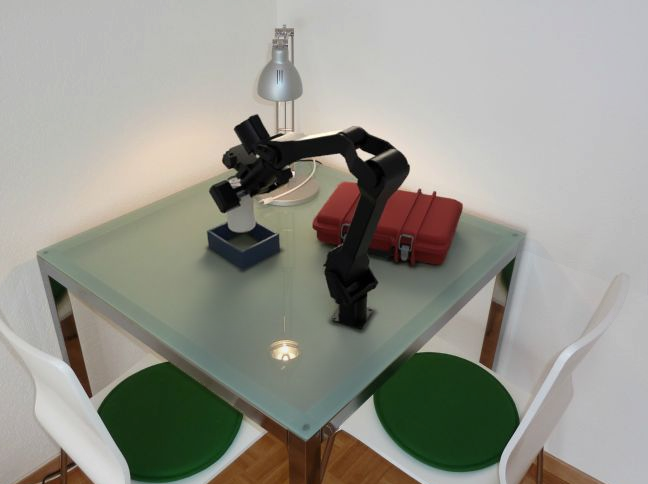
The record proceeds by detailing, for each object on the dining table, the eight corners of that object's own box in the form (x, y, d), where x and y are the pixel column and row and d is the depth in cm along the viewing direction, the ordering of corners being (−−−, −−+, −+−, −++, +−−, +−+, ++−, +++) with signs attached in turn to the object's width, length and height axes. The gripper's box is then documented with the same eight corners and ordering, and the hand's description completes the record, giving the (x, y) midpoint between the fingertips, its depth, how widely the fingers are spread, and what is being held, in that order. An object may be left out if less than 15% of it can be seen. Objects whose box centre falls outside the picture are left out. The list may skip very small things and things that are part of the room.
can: (254, 233, 144) (251, 186, 138) (226, 233, 144) (221, 187, 138) (256, 218, 149) (253, 173, 143) (229, 219, 150) (224, 174, 143)
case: (280, 250, 150) (279, 233, 147) (243, 270, 143) (241, 253, 141) (244, 229, 158) (243, 213, 155) (208, 247, 152) (206, 230, 149)
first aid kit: (461, 223, 159) (465, 193, 154) (443, 275, 140) (447, 242, 136) (341, 202, 169) (341, 173, 164) (309, 247, 151) (309, 217, 146)
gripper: (278, 125, 137) (249, 156, 150) (209, 152, 127) (184, 183, 139) (304, 168, 137) (273, 196, 149) (237, 199, 126) (209, 226, 139)
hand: (236, 199), depth 144 cm, fingers closed on can, 6 cm apart
